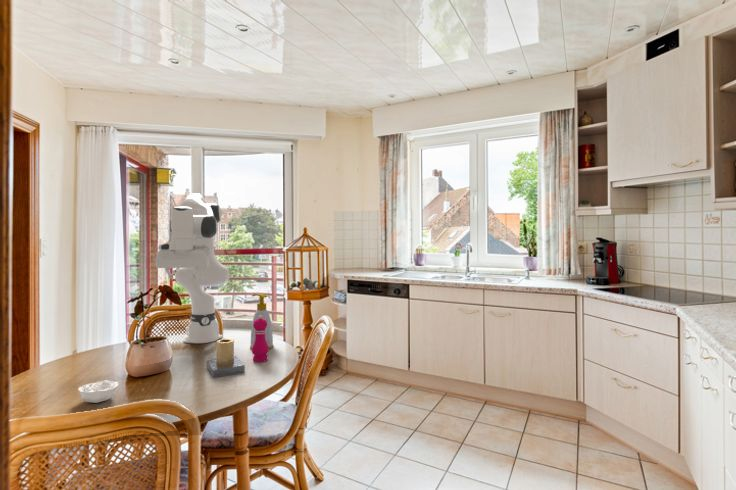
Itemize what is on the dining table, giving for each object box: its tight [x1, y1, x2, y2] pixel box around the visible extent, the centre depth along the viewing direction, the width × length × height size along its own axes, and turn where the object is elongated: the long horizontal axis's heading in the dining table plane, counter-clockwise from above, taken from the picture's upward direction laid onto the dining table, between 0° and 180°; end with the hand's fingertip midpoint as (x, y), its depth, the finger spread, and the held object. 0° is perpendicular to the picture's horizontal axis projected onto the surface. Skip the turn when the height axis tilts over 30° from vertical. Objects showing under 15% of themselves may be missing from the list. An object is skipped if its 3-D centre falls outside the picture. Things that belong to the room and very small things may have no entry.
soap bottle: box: [249, 293, 274, 350], centre depth 196 cm, size 11×12×26 cm
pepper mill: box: [251, 315, 270, 363], centre depth 178 cm, size 7×7×20 cm
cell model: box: [77, 379, 120, 404], centre depth 135 cm, size 10×12×7 cm
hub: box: [216, 338, 235, 365], centre depth 165 cm, size 6×6×9 cm
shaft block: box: [206, 355, 246, 379], centre depth 165 cm, size 14×12×9 cm
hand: (183, 278), depth 168 cm, fingers open, 8 cm apart
